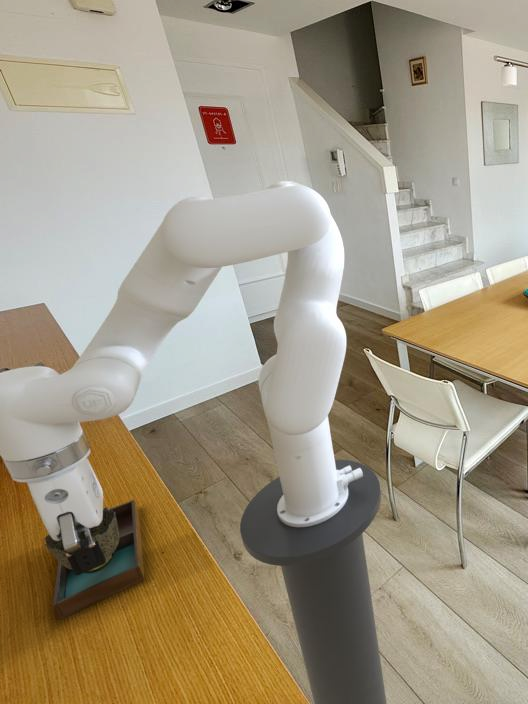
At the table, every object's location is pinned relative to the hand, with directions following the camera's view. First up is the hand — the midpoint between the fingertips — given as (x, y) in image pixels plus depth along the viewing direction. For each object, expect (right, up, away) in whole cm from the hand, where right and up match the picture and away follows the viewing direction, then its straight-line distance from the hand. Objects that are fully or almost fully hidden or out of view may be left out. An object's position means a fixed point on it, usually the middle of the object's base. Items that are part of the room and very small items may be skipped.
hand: (92, 549), depth 63 cm
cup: (0, -3, +1) cm, 3 cm away
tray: (-3, -4, +5) cm, 7 cm away
